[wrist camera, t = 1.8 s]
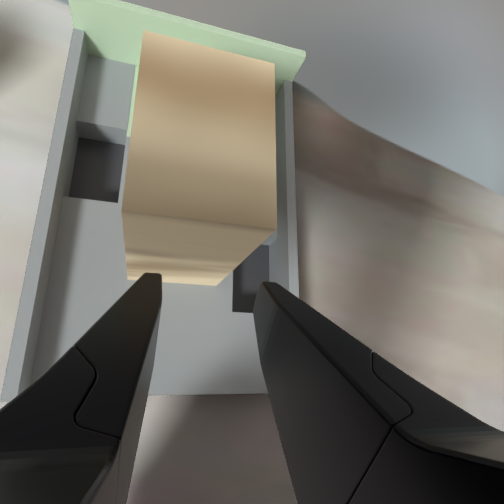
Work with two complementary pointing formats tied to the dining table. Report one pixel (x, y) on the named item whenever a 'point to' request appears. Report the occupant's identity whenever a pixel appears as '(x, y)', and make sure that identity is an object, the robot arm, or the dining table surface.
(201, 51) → the block
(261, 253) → the lane
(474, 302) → the dining table surface
